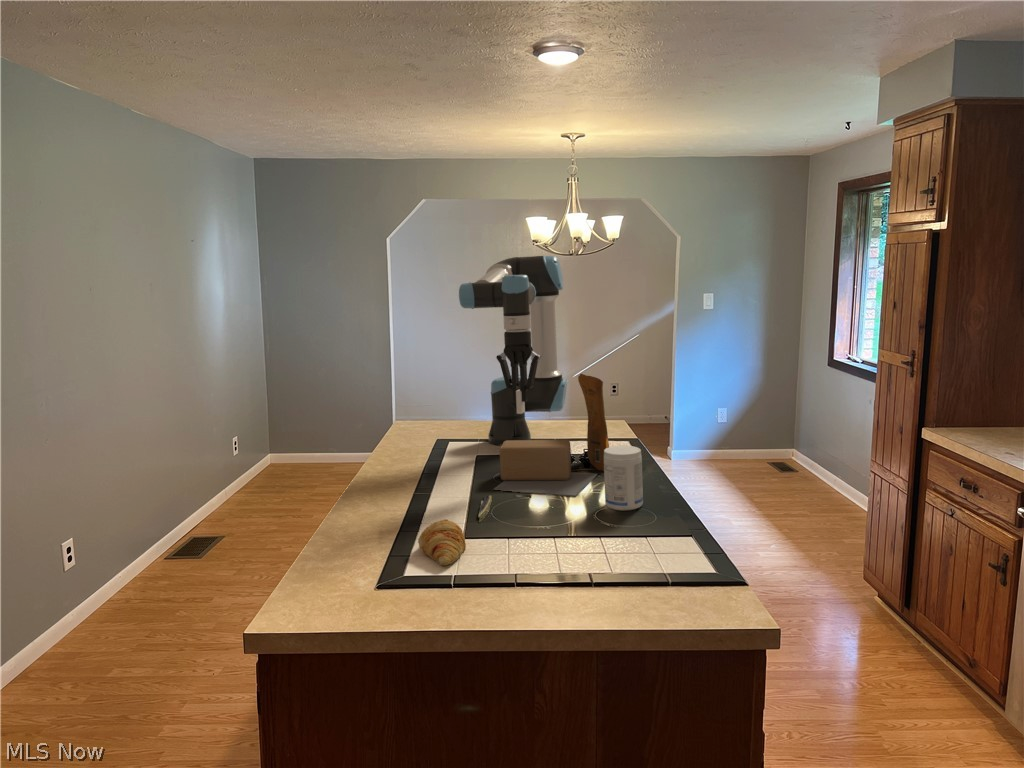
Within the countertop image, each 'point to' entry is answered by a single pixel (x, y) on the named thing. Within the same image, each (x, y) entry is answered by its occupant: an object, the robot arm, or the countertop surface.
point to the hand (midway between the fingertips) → (520, 412)
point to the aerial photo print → (486, 505)
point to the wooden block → (535, 460)
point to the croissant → (443, 542)
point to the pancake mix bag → (595, 419)
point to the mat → (550, 485)
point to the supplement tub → (623, 477)
